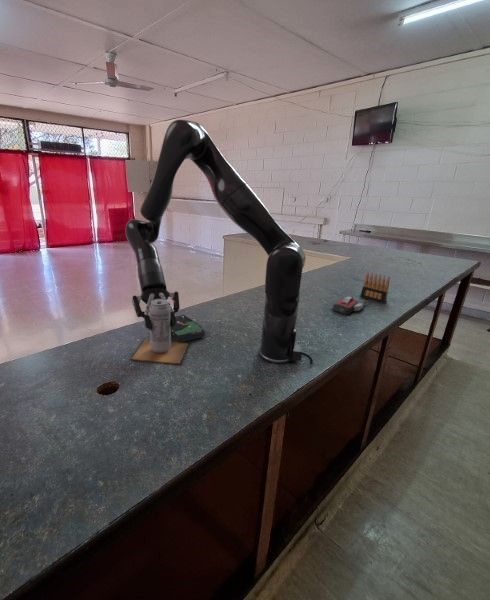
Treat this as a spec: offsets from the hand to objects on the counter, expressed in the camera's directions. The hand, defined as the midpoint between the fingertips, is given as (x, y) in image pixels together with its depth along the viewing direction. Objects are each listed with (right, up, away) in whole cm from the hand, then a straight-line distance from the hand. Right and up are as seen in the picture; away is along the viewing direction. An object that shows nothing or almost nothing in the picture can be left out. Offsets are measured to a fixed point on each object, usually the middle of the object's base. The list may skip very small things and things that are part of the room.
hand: (161, 327), depth 90 cm
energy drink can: (-1, -7, +4) cm, 8 cm away
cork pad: (-1, -8, +4) cm, 9 cm away
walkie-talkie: (+73, +4, +43) cm, 85 cm away
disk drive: (+4, -3, +17) cm, 18 cm away
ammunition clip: (+88, +8, +53) cm, 103 cm away
